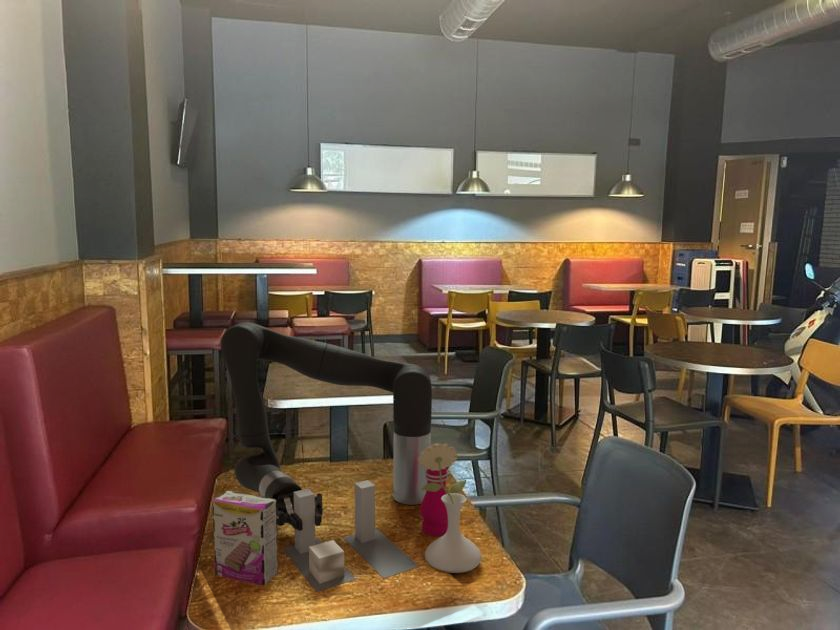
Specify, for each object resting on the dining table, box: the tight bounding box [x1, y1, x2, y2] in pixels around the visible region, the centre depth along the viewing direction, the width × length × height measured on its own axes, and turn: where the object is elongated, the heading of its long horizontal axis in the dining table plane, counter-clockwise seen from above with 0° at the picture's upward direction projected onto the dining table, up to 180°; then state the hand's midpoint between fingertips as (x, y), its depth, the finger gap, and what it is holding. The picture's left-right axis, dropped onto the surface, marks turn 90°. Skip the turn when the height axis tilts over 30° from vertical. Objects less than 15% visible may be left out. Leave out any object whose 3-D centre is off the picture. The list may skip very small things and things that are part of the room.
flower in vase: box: [418, 443, 482, 574], centre depth 123 cm, size 13×11×25 cm
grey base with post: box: [342, 479, 420, 579], centre depth 125 cm, size 8×18×13 cm, turn 32°
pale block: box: [309, 539, 345, 584], centre depth 117 cm, size 5×5×5 cm
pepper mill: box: [419, 443, 450, 537], centre depth 137 cm, size 7×7×20 cm
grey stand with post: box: [281, 488, 357, 593], centre depth 121 cm, size 8×18×13 cm, turn 32°
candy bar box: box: [212, 490, 279, 586], centre depth 117 cm, size 11×5×16 cm, turn 71°
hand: (310, 523), depth 124 cm, fingers closed on grey stand with post, 3 cm apart
